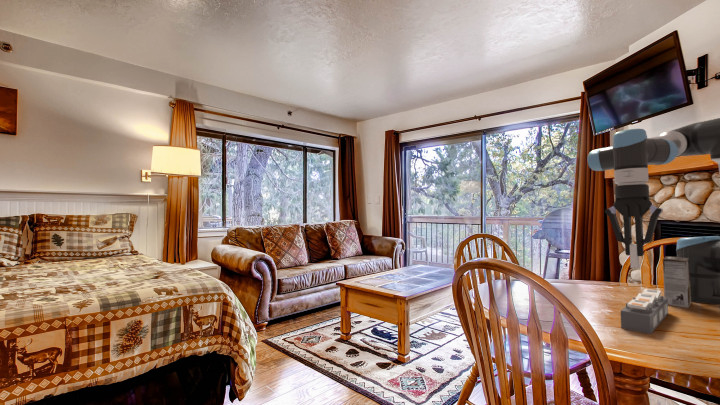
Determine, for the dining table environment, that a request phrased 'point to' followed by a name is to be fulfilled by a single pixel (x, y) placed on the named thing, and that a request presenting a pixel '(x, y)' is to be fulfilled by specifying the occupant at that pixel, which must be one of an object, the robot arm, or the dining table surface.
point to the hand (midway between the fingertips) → (635, 267)
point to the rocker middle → (646, 298)
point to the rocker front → (638, 304)
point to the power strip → (644, 316)
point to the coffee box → (677, 281)
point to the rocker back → (652, 292)
